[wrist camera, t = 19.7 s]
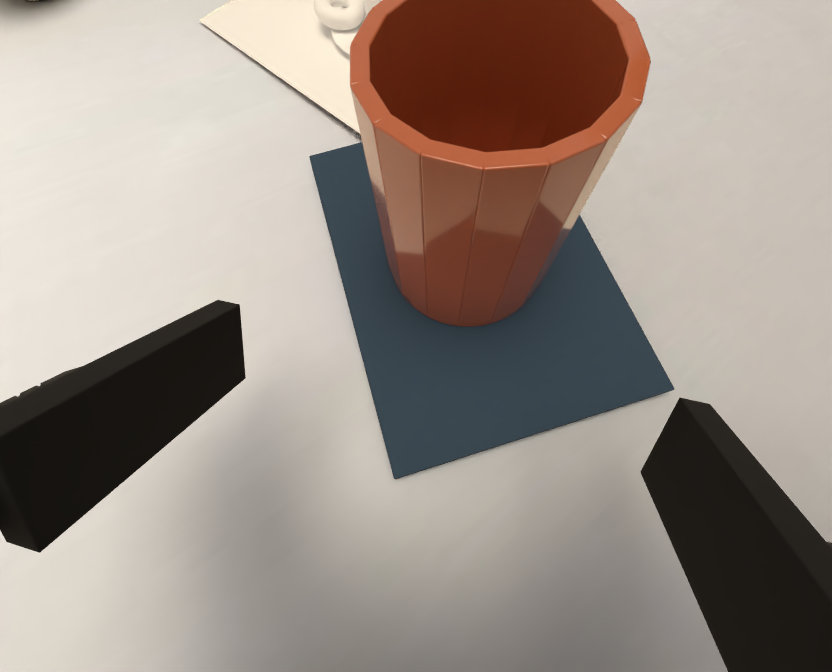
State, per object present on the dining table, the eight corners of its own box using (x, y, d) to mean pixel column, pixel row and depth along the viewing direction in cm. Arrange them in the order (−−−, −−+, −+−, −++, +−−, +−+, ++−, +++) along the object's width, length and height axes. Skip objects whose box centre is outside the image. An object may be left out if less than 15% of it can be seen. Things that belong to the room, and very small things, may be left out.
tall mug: (521, 347, 19) (622, 202, 9) (367, 300, 21) (301, 126, 10) (568, 174, 23) (679, -73, 12) (434, 143, 24) (434, -105, 14)
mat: (668, 391, 19) (675, 389, 18) (395, 478, 18) (394, 479, 18) (515, 108, 26) (517, 100, 25) (312, 163, 25) (309, 155, 24)
